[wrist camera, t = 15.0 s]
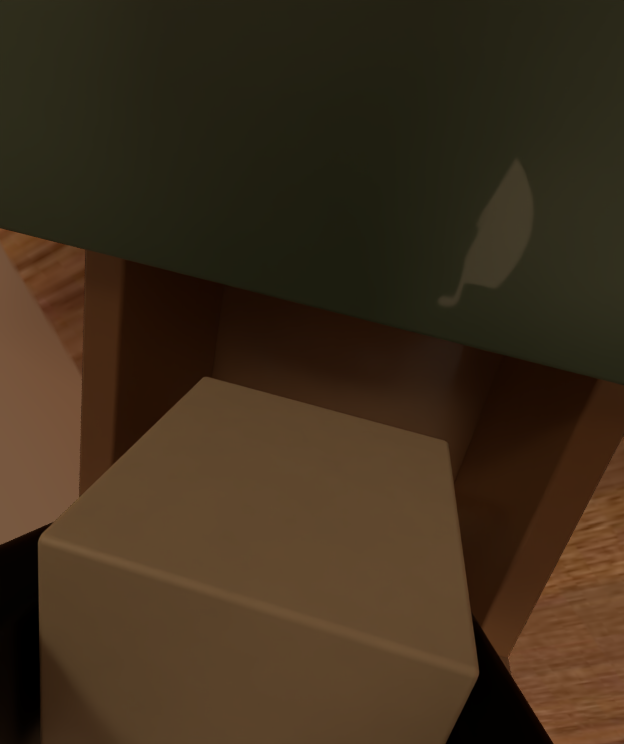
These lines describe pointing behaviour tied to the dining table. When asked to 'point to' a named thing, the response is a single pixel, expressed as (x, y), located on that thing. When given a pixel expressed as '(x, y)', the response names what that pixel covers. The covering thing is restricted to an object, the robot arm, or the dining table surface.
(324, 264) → the cabinet
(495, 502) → the drawer
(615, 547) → the dining table surface
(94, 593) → the block
